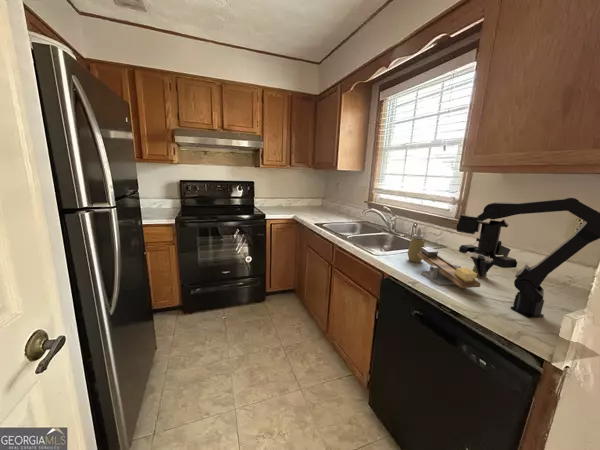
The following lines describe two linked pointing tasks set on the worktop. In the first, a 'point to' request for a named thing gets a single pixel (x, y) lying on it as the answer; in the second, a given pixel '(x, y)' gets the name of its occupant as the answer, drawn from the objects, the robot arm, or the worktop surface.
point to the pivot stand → (438, 276)
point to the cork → (478, 274)
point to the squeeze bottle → (416, 246)
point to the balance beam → (447, 270)
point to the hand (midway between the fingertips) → (481, 277)
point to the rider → (465, 275)
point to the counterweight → (429, 252)
